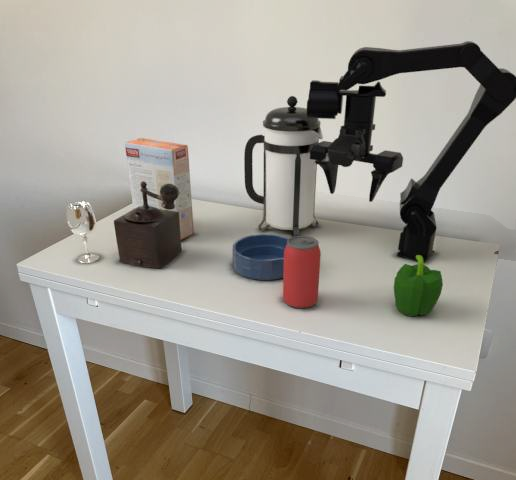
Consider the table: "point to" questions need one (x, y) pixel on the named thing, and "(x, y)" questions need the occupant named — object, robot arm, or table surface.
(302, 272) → the beer can
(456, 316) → the table surface
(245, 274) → the bowl
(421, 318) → the table surface
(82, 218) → the wineglass
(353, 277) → the table surface
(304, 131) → the coffee press
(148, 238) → the manual coffee grinder
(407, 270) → the bell pepper
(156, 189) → the cracker box
